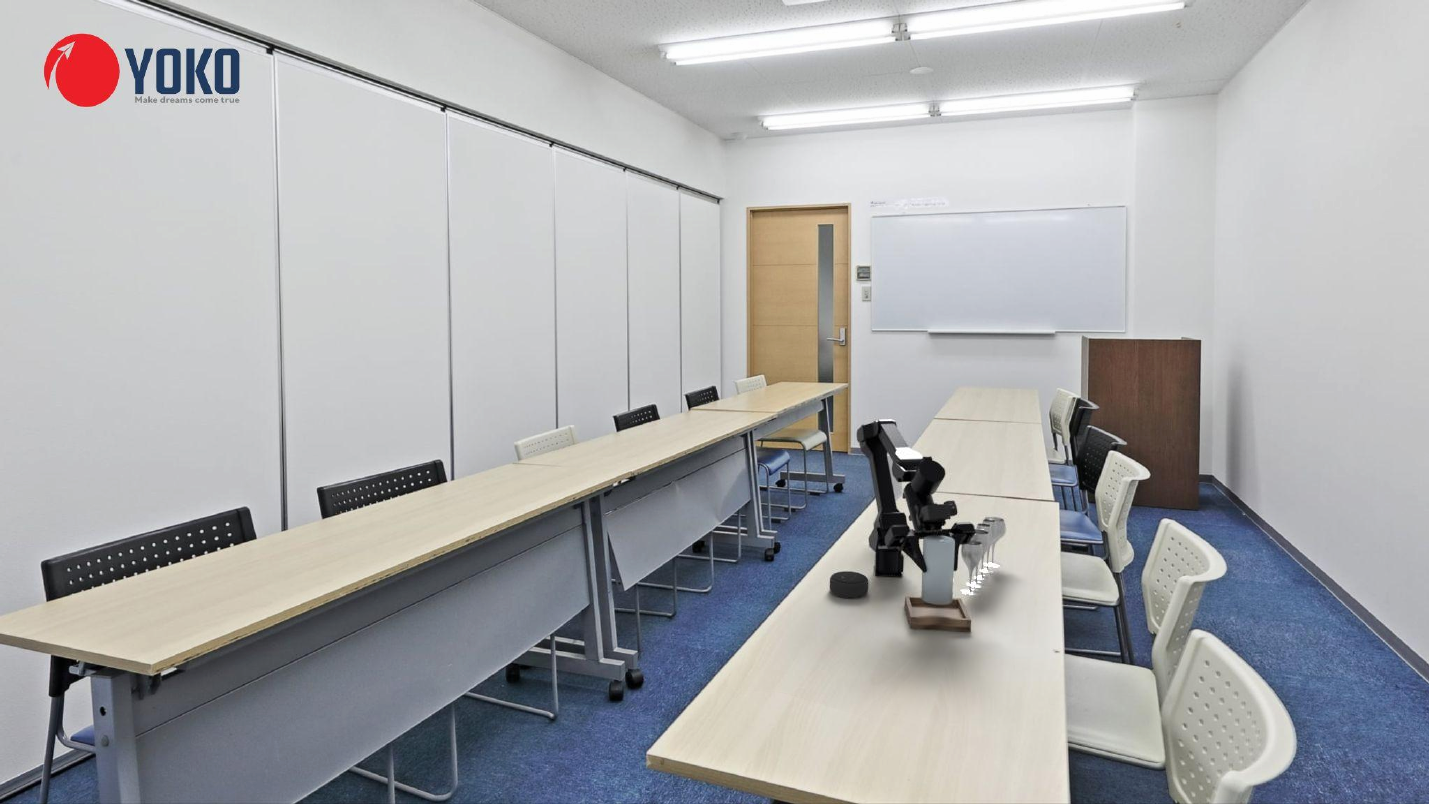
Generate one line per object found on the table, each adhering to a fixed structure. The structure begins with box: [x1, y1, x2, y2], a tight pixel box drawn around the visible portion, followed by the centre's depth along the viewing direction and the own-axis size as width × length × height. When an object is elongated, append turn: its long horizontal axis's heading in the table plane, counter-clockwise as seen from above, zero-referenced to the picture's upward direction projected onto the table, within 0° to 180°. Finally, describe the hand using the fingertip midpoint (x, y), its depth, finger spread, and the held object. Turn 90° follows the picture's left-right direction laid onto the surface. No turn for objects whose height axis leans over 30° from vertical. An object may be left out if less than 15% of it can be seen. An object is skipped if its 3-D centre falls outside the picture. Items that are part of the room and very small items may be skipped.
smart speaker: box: [829, 570, 870, 599], centre depth 180 cm, size 9×9×4 cm
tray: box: [904, 595, 972, 633], centre depth 165 cm, size 12×12×2 cm
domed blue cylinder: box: [920, 535, 955, 605], centre depth 164 cm, size 6×6×13 cm
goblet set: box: [959, 516, 1007, 596], centre depth 189 cm, size 28×6×13 cm, turn 148°
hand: (940, 571), depth 162 cm, fingers closed on domed blue cylinder, 6 cm apart
